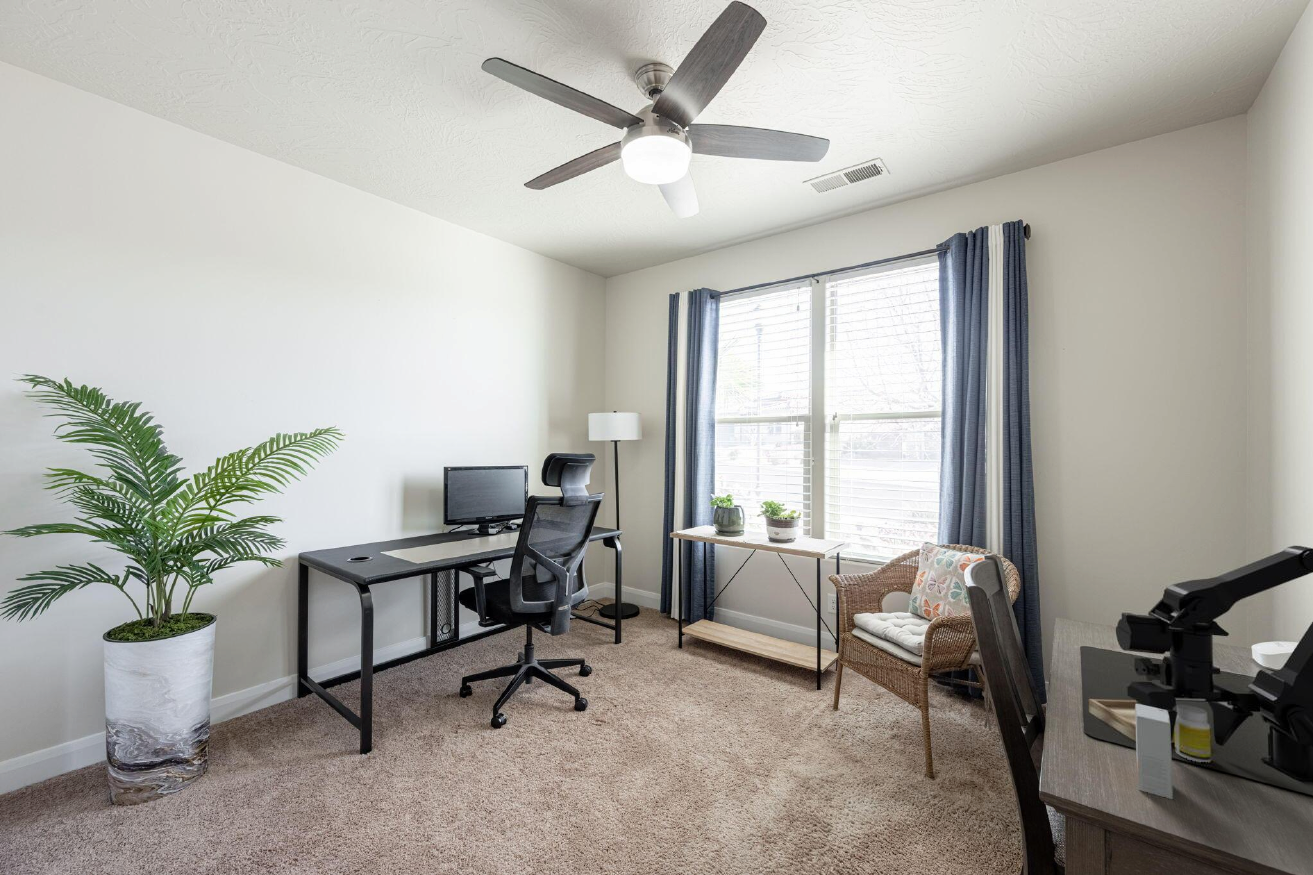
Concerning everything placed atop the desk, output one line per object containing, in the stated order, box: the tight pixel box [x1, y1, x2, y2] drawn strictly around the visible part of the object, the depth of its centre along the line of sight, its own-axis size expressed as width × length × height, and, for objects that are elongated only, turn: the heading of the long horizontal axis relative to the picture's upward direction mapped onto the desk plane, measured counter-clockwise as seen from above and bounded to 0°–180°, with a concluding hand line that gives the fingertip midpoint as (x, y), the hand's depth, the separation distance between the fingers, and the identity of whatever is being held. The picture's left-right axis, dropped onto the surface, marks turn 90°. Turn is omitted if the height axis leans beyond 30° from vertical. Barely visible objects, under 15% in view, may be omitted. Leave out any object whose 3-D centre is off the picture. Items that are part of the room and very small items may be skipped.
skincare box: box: [1135, 704, 1174, 800], centre depth 91 cm, size 6×4×12 cm
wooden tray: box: [1088, 698, 1175, 744], centre depth 112 cm, size 12×12×3 cm
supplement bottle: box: [1174, 704, 1212, 764], centre depth 101 cm, size 5×5×8 cm
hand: (1192, 744), depth 101 cm, fingers open, 9 cm apart
